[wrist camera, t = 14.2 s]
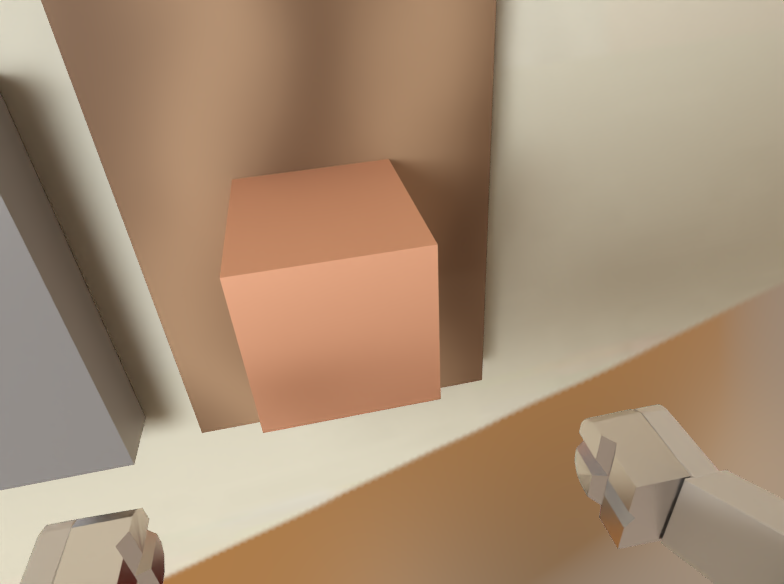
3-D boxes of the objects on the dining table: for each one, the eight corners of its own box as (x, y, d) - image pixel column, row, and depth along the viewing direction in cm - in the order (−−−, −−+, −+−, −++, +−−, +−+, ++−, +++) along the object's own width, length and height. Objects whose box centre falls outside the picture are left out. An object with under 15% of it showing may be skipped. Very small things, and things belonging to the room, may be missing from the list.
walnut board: (480, -50, 16) (498, -49, 15) (471, 358, 25) (481, 379, 24) (56, -14, 15) (37, -10, 14) (205, 407, 24) (202, 432, 22)
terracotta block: (388, 159, 18) (437, 244, 13) (397, 287, 20) (440, 398, 16) (231, 179, 17) (219, 278, 12) (263, 309, 20) (263, 432, 15)
